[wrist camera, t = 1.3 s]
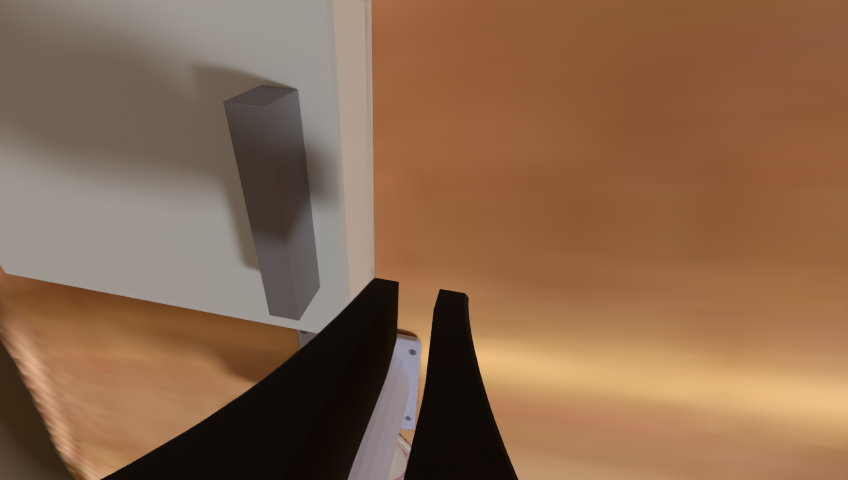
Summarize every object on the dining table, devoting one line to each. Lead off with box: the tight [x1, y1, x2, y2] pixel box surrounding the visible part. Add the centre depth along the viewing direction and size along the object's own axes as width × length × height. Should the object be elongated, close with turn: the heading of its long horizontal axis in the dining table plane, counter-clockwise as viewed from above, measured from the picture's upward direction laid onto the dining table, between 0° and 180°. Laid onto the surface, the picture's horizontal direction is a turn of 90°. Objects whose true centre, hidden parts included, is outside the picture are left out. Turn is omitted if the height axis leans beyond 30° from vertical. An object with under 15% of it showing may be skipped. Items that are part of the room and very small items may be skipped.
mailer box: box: [333, 0, 375, 302], centre depth 18 cm, size 14×18×4 cm
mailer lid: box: [0, 0, 350, 333], centre depth 15 cm, size 14×18×2 cm
